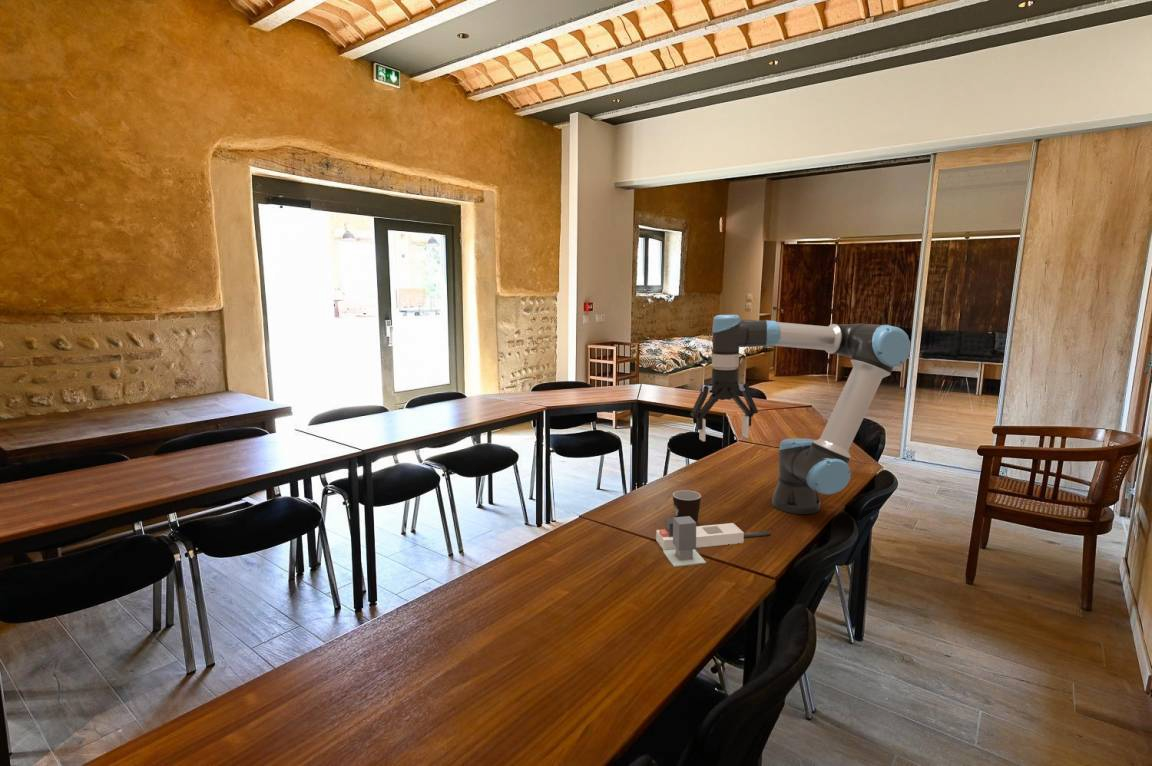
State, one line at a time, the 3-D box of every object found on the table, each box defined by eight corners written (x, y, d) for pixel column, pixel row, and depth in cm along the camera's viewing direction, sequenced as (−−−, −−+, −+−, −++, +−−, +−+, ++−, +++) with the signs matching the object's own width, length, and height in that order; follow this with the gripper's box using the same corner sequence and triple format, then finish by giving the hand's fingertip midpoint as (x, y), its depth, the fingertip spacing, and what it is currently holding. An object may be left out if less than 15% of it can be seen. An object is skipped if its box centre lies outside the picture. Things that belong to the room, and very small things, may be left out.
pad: (693, 548, 160) (693, 547, 160) (705, 563, 152) (705, 562, 152) (662, 552, 159) (662, 550, 159) (673, 567, 150) (673, 565, 150)
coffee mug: (700, 532, 171) (701, 500, 170) (672, 530, 173) (672, 499, 171) (700, 517, 182) (700, 487, 181) (673, 515, 184) (673, 486, 183)
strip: (763, 530, 172) (764, 507, 171) (775, 539, 165) (776, 516, 164) (656, 540, 166) (656, 517, 165) (664, 551, 159) (664, 526, 158)
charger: (689, 551, 158) (689, 516, 156) (695, 559, 153) (696, 522, 151) (672, 553, 157) (673, 517, 155) (678, 561, 152) (679, 524, 151)
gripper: (758, 364, 171) (756, 432, 174) (680, 368, 167) (679, 438, 170) (771, 367, 164) (768, 438, 167) (689, 371, 159) (688, 444, 163)
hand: (723, 438), depth 169 cm, fingers open, 13 cm apart
